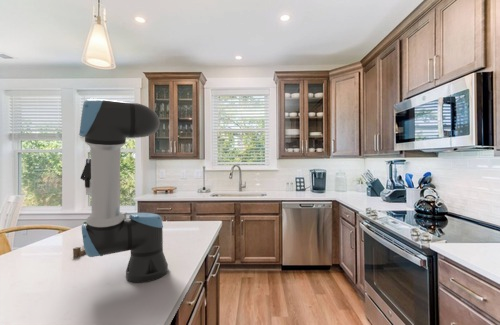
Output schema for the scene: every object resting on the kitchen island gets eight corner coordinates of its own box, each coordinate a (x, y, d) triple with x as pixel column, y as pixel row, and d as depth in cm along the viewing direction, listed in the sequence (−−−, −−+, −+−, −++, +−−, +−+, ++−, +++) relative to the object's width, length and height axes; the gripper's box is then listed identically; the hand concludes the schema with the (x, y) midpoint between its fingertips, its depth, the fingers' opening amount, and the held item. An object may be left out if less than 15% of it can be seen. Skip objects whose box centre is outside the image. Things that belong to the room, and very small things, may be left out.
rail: (77, 257, 117) (76, 248, 117) (73, 257, 117) (73, 248, 117) (129, 234, 153) (129, 227, 153) (126, 233, 154) (126, 227, 154)
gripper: (85, 147, 110) (86, 196, 110) (123, 149, 135) (124, 189, 135) (70, 147, 112) (71, 196, 112) (111, 149, 136) (112, 189, 136)
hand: (100, 192), depth 123 cm, fingers open, 13 cm apart
